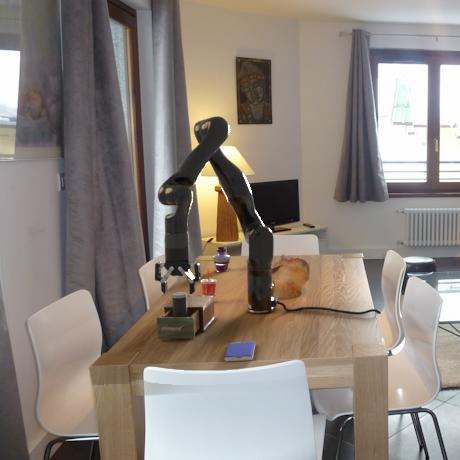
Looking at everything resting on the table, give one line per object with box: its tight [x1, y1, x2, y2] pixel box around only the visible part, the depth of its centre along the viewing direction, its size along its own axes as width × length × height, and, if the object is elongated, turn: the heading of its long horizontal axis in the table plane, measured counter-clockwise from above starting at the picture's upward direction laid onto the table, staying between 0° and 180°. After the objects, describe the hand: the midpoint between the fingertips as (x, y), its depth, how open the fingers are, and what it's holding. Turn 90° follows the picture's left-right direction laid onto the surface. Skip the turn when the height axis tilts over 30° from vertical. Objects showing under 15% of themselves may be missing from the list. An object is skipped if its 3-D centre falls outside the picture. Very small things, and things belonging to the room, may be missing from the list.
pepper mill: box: [171, 291, 188, 317], centre depth 208 cm, size 4×4×12 cm
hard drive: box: [224, 341, 256, 362], centre depth 195 cm, size 2×8×12 cm
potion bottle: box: [212, 245, 231, 273], centre depth 302 cm, size 9×9×12 cm
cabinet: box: [163, 294, 216, 333], centre depth 220 cm, size 15×13×9 cm
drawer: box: [156, 310, 201, 339], centre depth 208 cm, size 18×12×7 cm, turn 4°
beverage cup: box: [199, 267, 218, 304], centre depth 248 cm, size 6×6×14 cm
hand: (178, 293), depth 208 cm, fingers open, 8 cm apart
